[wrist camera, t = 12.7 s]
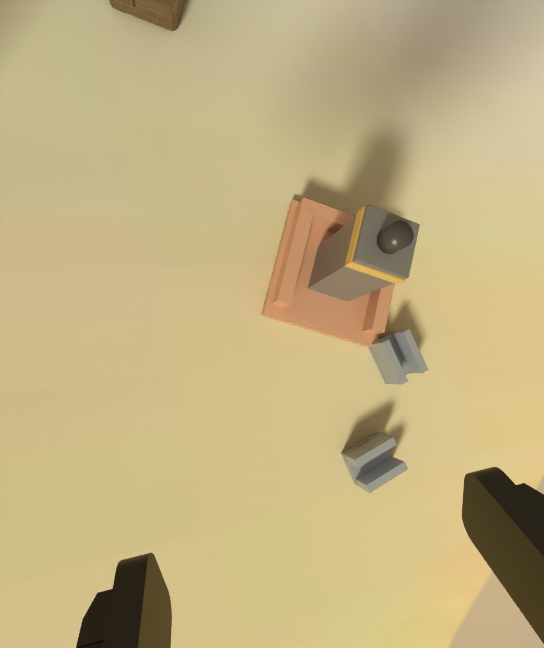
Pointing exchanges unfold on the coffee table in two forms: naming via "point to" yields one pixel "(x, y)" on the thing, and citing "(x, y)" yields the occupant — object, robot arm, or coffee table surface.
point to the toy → (152, 10)
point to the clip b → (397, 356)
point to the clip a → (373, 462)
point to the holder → (311, 306)
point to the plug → (365, 255)
